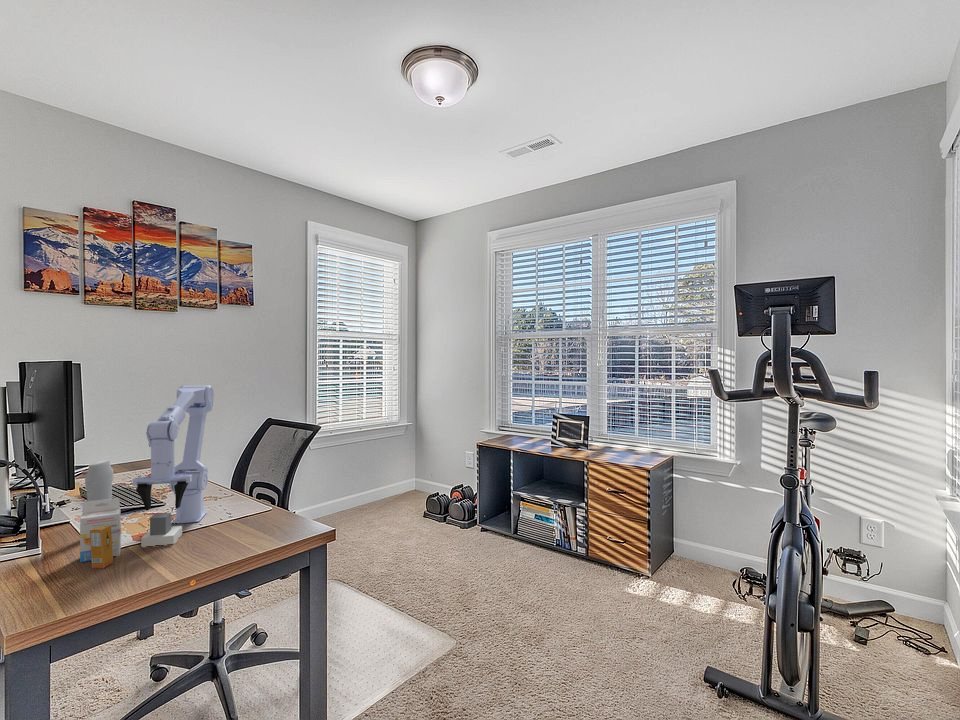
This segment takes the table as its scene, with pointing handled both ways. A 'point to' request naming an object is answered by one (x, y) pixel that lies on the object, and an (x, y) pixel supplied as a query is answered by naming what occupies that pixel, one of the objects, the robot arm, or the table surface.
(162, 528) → the charcoal block
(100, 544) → the supplement box
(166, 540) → the base block
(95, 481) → the tall pale column
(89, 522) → the ink box
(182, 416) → the robot arm
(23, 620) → the table surface
